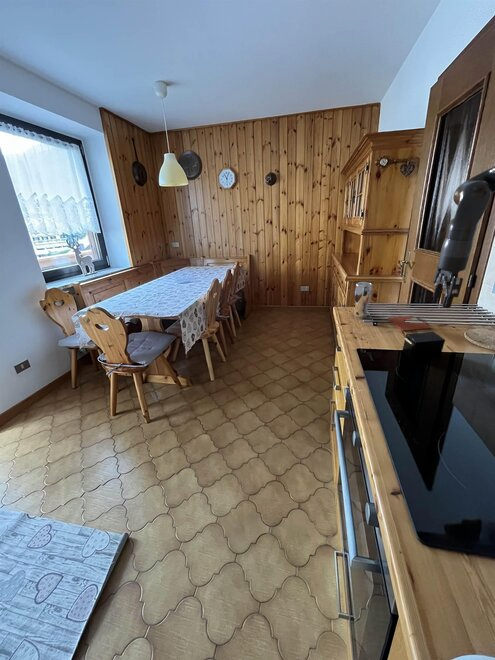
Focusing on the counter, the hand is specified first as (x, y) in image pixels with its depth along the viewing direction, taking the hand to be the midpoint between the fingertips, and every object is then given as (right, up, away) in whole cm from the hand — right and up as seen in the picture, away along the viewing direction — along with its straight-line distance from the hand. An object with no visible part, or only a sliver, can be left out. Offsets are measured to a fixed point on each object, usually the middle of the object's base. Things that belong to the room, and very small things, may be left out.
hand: (441, 302), depth 94 cm
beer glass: (-12, -3, +37) cm, 39 cm away
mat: (+4, -7, +26) cm, 28 cm away
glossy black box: (-3, -18, +6) cm, 19 cm away
